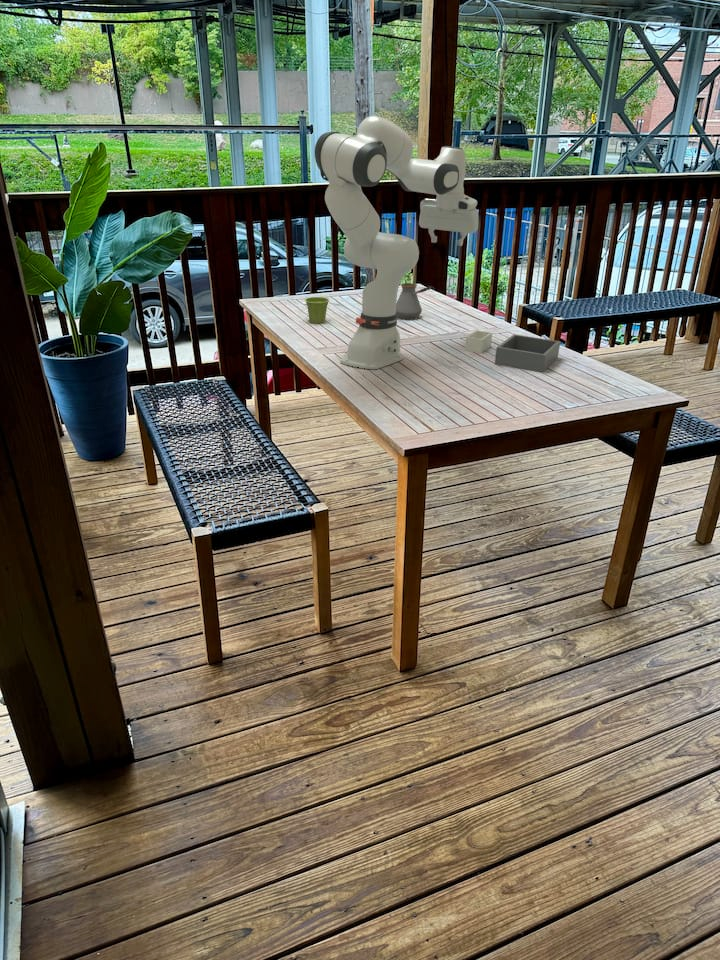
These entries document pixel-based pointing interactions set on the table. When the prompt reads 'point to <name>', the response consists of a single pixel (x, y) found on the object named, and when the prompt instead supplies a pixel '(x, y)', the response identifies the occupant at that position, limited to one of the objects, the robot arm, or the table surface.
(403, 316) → the coffee pot
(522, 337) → the big crate
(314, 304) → the plant pot
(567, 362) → the table surface
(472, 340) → the small crate
